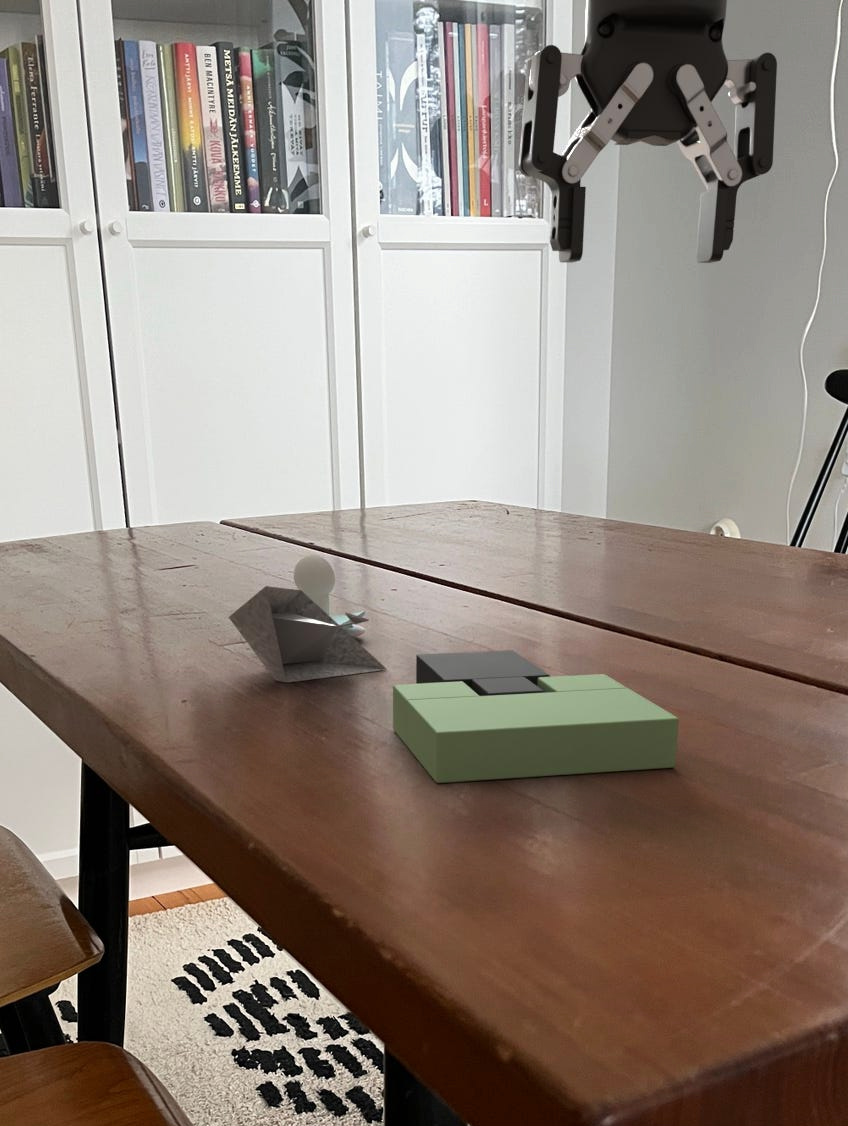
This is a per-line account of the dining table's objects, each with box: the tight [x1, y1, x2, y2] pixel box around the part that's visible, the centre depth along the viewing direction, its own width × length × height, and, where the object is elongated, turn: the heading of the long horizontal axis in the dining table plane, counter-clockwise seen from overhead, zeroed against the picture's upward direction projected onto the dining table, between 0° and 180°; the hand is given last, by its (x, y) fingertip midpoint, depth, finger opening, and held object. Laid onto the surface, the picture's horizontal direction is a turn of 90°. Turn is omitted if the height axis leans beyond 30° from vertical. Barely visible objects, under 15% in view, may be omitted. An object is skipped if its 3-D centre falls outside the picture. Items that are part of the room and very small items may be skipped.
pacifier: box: [293, 554, 366, 638], centre depth 91 cm, size 7×6×6 cm
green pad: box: [392, 673, 680, 784], centre depth 65 cm, size 12×10×2 cm
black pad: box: [415, 649, 551, 696], centre depth 71 cm, size 6×10×2 cm, turn 11°
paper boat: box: [228, 585, 388, 684], centre depth 79 cm, size 12×6×9 cm
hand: (639, 261), depth 73 cm, fingers open, 8 cm apart
